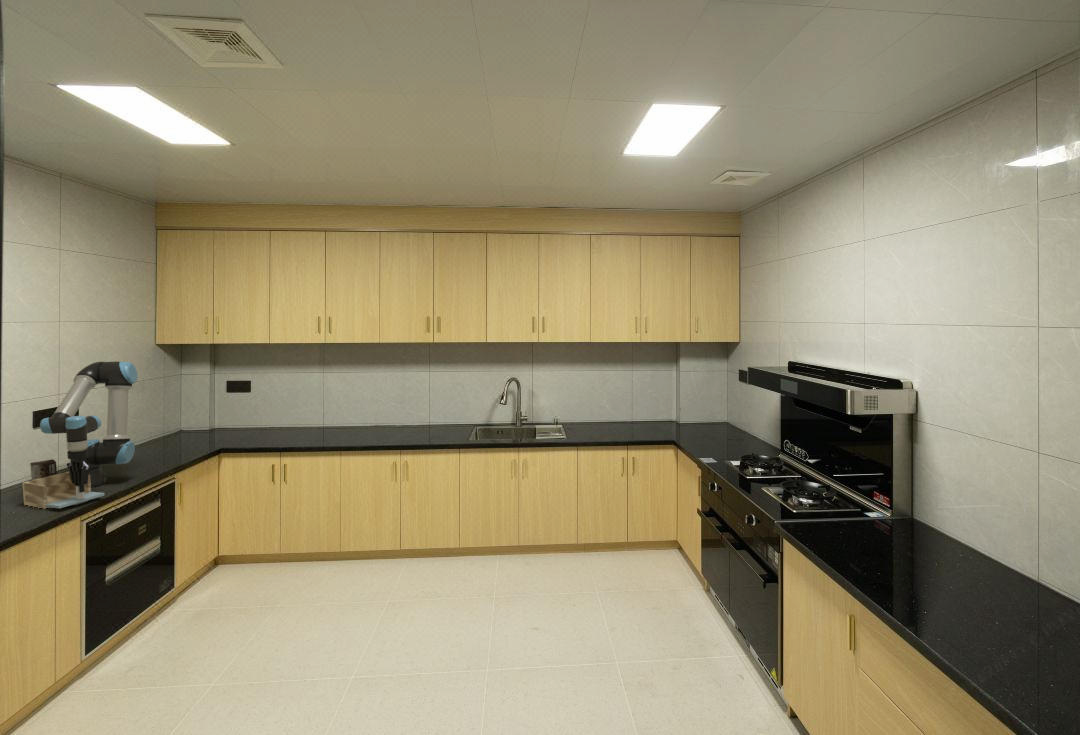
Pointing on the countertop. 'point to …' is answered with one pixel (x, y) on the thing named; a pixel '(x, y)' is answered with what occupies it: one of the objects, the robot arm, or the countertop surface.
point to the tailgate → (74, 500)
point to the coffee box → (43, 469)
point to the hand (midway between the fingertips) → (80, 498)
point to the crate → (50, 490)
